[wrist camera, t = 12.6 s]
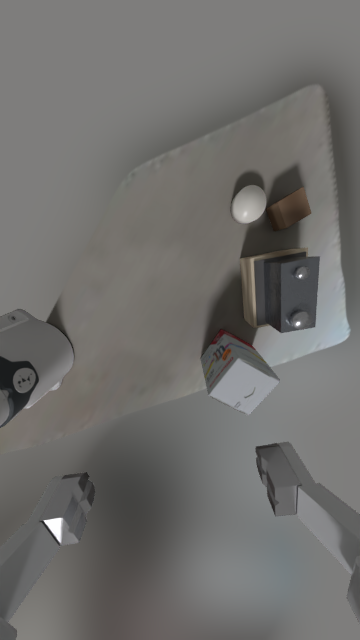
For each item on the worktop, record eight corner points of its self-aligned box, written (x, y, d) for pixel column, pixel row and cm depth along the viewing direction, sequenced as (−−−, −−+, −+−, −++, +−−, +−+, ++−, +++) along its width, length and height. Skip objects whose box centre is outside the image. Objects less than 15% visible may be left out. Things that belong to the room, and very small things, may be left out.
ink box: (220, 327, 38) (239, 356, 27) (253, 345, 39) (283, 380, 28) (198, 358, 40) (207, 398, 29) (230, 375, 42) (250, 418, 31)
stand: (244, 319, 37) (254, 328, 32) (239, 258, 33) (251, 258, 28) (288, 311, 37) (306, 319, 32) (289, 249, 33) (309, 247, 28)
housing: (263, 262, 29) (285, 264, 23) (295, 256, 28) (325, 256, 23) (265, 321, 32) (284, 335, 26) (294, 316, 32) (320, 329, 26)
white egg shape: (231, 226, 32) (235, 224, 30) (228, 194, 30) (233, 188, 28) (259, 221, 32) (266, 218, 29) (258, 187, 30) (266, 181, 28)
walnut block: (273, 231, 32) (286, 227, 28) (265, 209, 31) (277, 202, 27) (295, 218, 32) (311, 213, 28) (287, 195, 30) (303, 186, 27)
